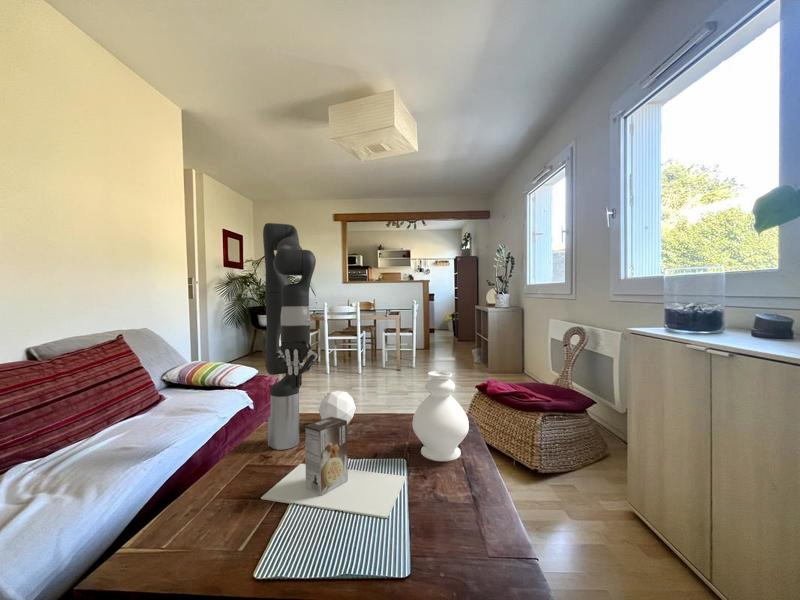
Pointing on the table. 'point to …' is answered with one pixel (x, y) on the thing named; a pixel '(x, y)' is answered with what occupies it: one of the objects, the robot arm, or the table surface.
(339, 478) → the coffee box
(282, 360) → the robot arm
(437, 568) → the table surface
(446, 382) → the decorative vase
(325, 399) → the geodesic sphere
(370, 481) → the mat
